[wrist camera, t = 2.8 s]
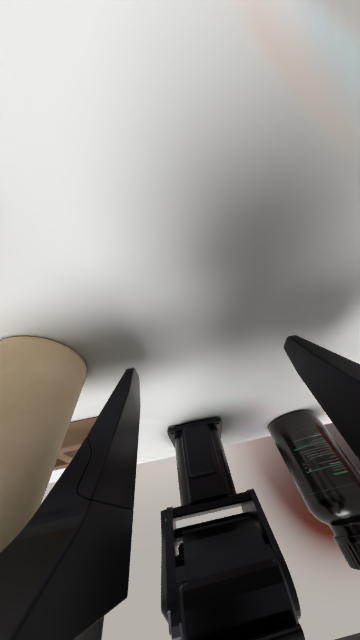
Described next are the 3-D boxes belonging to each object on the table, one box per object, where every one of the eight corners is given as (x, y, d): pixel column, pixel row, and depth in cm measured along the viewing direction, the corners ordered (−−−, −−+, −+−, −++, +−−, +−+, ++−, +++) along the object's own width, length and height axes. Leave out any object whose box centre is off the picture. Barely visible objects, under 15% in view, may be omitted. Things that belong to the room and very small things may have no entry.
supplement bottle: (305, 423, 26) (393, 550, 17) (264, 433, 26) (328, 566, 17) (319, 404, 22) (445, 559, 13) (270, 416, 22) (359, 579, 13)
